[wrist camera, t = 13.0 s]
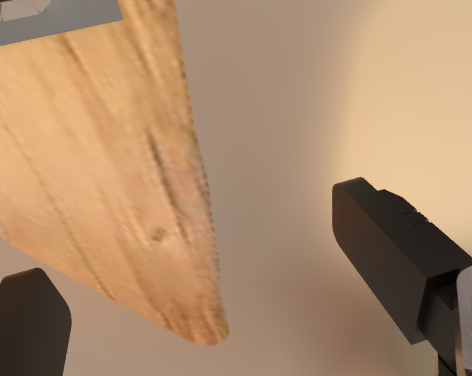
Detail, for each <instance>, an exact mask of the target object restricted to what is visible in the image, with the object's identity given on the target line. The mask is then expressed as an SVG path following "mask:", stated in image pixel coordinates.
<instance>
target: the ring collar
mask: <svg viewBox="0 0 472 376" xmlns="http://www.w3.org/2000/svg"><path fill="white" fill-rule="evenodd" d="M55 1H56V0H0V21H8V20H13V19H18V18H23V17H27V16H32V15H37V14H40V13H42V12H44V11H46V10H48V9H49V8H50V7H51V6H52V4H53V3H54V2H55Z"/></svg>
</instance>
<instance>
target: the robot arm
mask: <svg viewBox="0 0 472 376" xmlns="http://www.w3.org/2000/svg"><path fill="white" fill-rule="evenodd" d="M332 227H333V232H334V236H335V238H336V241H337V243H338V245H339V246H340V248H341V249H342V250H343V252H344V253H345V255H346V256H347V257H348V259H349V260H350V261H351V263H352V264H353V266H354V267H355V268H356V270H357V271H358V272H359V274H360V275H361V276H362V278H363V279H364V281H365V282H366V283H367V285H368V286H369V288H370V289H371V290H372V292H373V293H374V294H375V296H376V297H377V299H378V300H379V301H380V303H381V304H382V305H383V307H384V308H385V310H386V311H387V312H388V314H389V315H390V316H391V318H392V319H393V321H394V322H395V323H396V325H397V326H398V327H399V329H400V330H401V331H402V333H403V334H404V336H405V337H406V338H407V340H408V341H409V342H410V344H411V345H413V344H416V343H419V342H421V341H424V340H428V341H429V342H430V344H431V345H432V346H433V348H434V349H435V352H434V376H472V257H471V256H470V255H469V254H467V253H466V252H465V251H464V250H463V249H462V248H460V247H459V246H458V245H457V244H456V243H455V242H454V241H452V240H451V239H450V238H449V237H448V236H447V235H445V234H444V233H443V232H442V231H441V230H440V229H439V228H437V227H436V226H435V225H434V224H433V223H429V221H428V219H427V218H426V217H424V215H422V214H421V213H420V212H417V210H416V209H415V208H414V207H413V206H412V205H411V204H410V203H409V202H407V201H406V200H405V199H404V198H403V197H400V196H398V195H396V194H394V193H391V192H389V191H387V190H385V189H383V190H379V191H377V190H376V189H375V188H374V187H373V186H372V185H371V184H369V183H368V182H367V181H366V180H365V179H364V178H362V177H359V178H355V179H351V180H348V181H344V182H341V183H337V184H335V185H334V186H333V190H332ZM71 322H72V321H71V313H70V309H69V307H68V305H67V303H66V301H65V300H64V299H63V297H62V296H61V294H60V293H59V292H58V290H57V289H56V287H55V286H54V285H53V283H52V282H51V280H50V279H49V277H48V276H47V275H46V273H45V272H44V271H43V270H42V269H41V268H34V269H30V270H27V271H23V272H19V273H16V274H13V275H9V276H6V277H4V278H3V280H2V281H1V283H0V376H62V375H63V370H64V364H65V359H66V353H67V348H68V343H69V337H70V331H71V324H72V323H71Z"/></svg>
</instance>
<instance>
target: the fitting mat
mask: <svg viewBox="0 0 472 376" xmlns="http://www.w3.org/2000/svg"><path fill="white" fill-rule="evenodd" d="M119 20H123V18H122V14H121V11H120V8H119V5H118V2H117V0H56V1H55V2H54V3H53V4H52V6H51V7H50V8H49V9H48V10H46V11H44V12H42V13H40V14H37V15H32V16H27V17H23V18H18V19H13V20H8V21H0V46H2V45H7V44H11V43H16V42H21V41H25V40H30V39H35V38H39V37H44V36H49V35H54V34H58V33H63V32H68V31H72V30H77V29H82V28H86V27H91V26H96V25H101V24H105V23H110V22H115V21H119Z"/></svg>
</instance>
